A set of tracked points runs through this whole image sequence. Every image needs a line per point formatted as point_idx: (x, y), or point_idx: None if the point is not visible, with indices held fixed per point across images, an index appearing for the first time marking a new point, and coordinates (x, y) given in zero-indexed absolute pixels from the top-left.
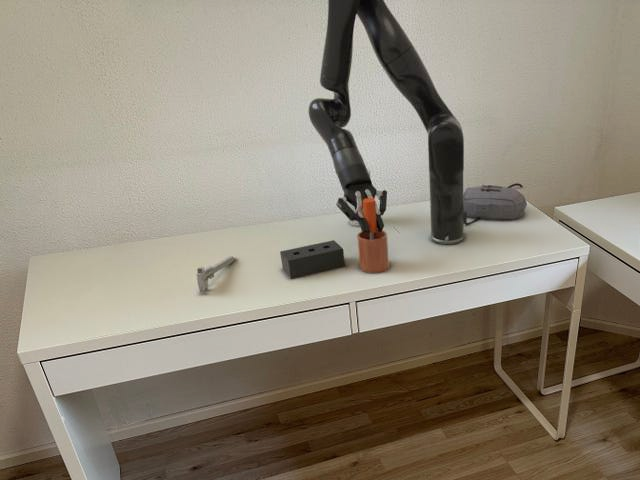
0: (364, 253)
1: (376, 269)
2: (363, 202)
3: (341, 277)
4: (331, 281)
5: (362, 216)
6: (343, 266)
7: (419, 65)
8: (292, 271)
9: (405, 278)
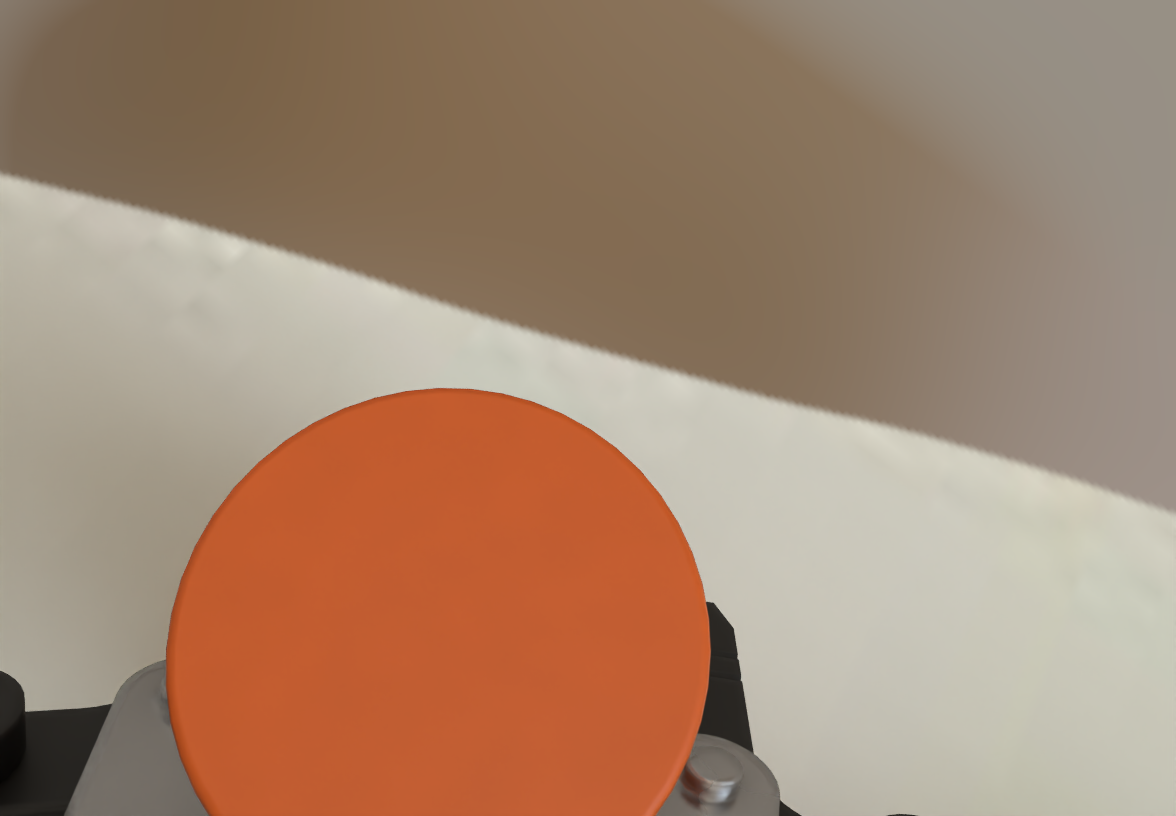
0: None
1: None
2: (702, 672)
3: (926, 808)
4: (1059, 787)
5: (690, 755)
6: None
7: None
8: None
9: (389, 350)
